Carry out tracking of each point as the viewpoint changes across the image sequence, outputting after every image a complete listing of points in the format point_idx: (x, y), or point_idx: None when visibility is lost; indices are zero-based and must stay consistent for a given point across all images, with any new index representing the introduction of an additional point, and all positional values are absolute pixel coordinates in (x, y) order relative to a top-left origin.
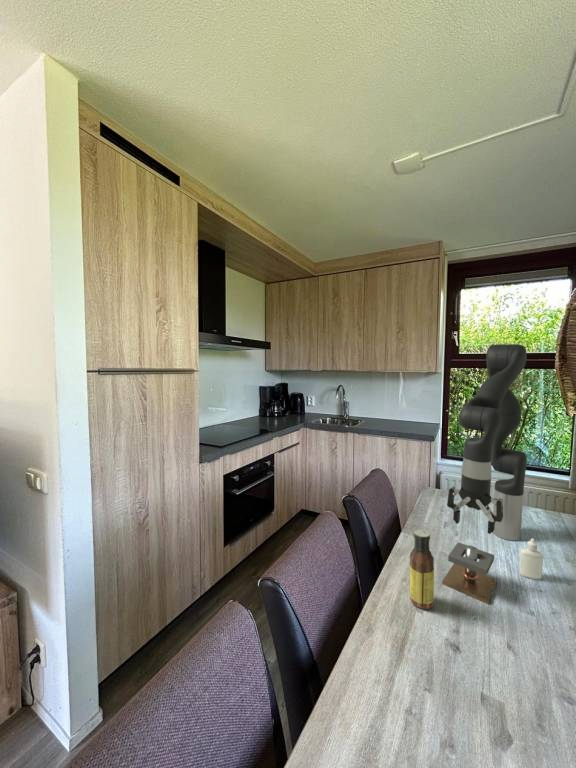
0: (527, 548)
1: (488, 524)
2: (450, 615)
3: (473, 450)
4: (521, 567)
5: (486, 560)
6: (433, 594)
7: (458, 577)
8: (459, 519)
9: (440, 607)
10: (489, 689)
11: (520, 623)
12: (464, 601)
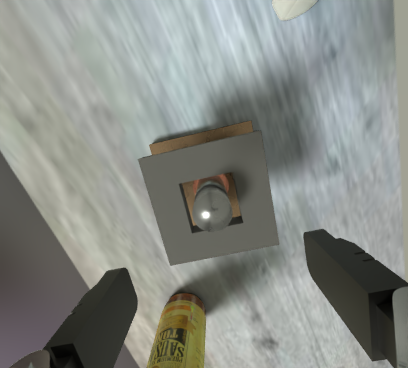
0: None
1: (353, 328)
2: (233, 295)
3: None
4: (289, 7)
5: (257, 191)
6: (204, 326)
7: (189, 195)
8: (119, 282)
9: (212, 292)
10: (325, 363)
11: (325, 216)
12: None
